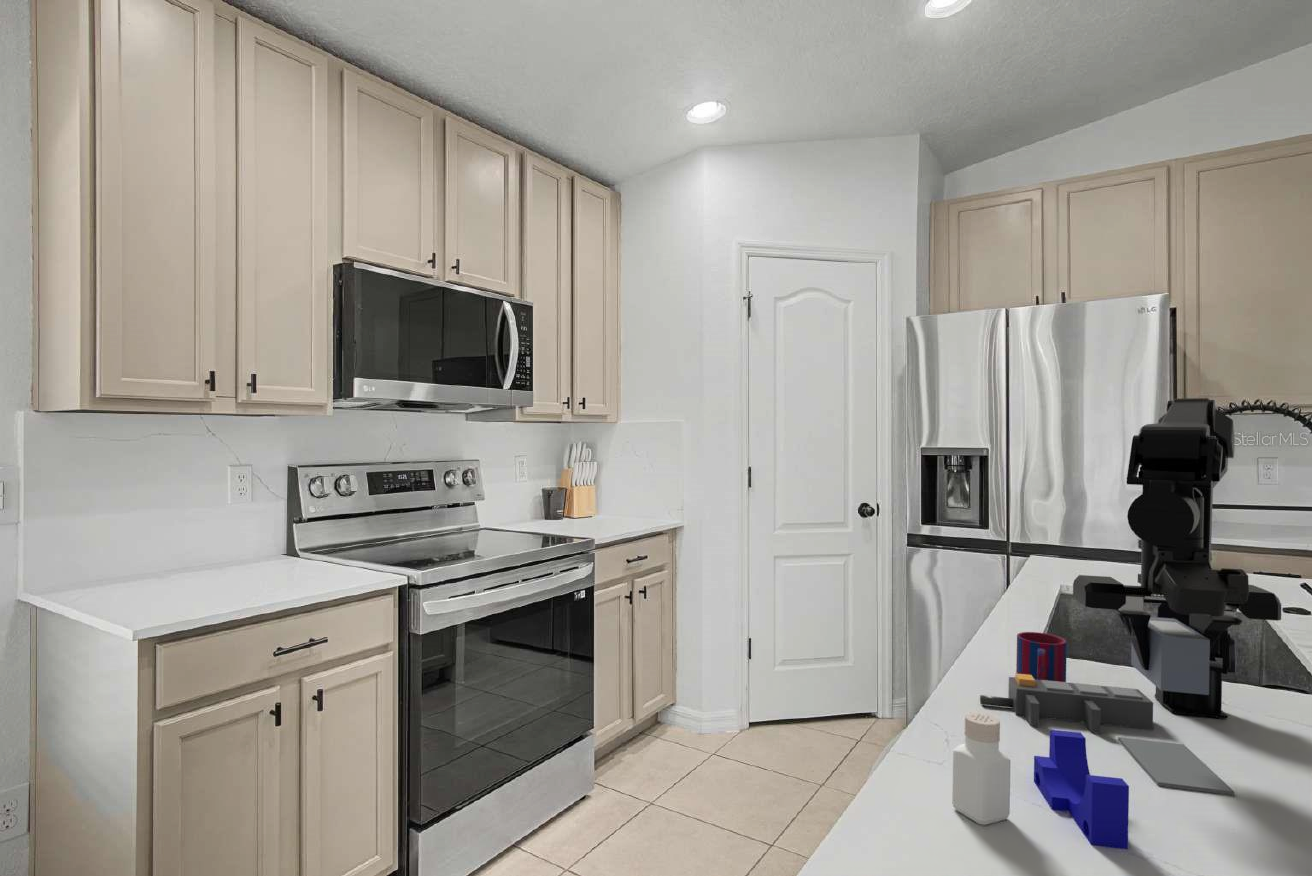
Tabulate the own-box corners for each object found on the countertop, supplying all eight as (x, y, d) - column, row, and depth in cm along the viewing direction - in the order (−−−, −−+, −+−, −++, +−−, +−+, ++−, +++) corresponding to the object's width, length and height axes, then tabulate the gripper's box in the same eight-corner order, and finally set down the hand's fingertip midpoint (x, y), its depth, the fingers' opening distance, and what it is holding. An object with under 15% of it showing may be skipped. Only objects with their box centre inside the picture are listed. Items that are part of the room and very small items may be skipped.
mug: (1067, 680, 110) (1068, 636, 110) (1061, 700, 102) (1062, 652, 102) (1019, 671, 114) (1020, 629, 114) (1009, 689, 106) (1010, 643, 106)
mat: (1183, 747, 86) (1183, 744, 86) (1234, 795, 75) (1234, 791, 75) (1118, 739, 88) (1118, 736, 88) (1157, 785, 77) (1157, 781, 77)
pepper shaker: (982, 828, 68) (983, 728, 68) (949, 808, 71) (951, 713, 71) (1012, 820, 69) (1014, 722, 69) (978, 800, 73) (980, 708, 73)
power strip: (1137, 715, 96) (1138, 683, 96) (1164, 740, 88) (1164, 706, 88) (977, 698, 102) (978, 668, 102) (988, 721, 94) (989, 688, 94)
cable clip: (1033, 783, 77) (1034, 728, 77) (1079, 788, 76) (1080, 732, 76) (1073, 845, 66) (1074, 780, 66) (1127, 851, 65) (1129, 785, 65)
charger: (1174, 668, 86) (1174, 617, 86) (1208, 694, 77) (1209, 638, 77) (1131, 664, 87) (1132, 614, 87) (1160, 690, 78) (1161, 634, 78)
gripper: (1102, 541, 76) (1099, 686, 77) (1314, 551, 71) (1310, 706, 71) (1072, 528, 87) (1070, 655, 87) (1254, 535, 82) (1252, 670, 82)
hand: (1169, 671), depth 82 cm, fingers closed on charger, 4 cm apart
